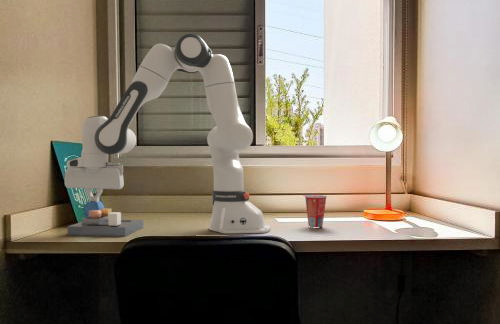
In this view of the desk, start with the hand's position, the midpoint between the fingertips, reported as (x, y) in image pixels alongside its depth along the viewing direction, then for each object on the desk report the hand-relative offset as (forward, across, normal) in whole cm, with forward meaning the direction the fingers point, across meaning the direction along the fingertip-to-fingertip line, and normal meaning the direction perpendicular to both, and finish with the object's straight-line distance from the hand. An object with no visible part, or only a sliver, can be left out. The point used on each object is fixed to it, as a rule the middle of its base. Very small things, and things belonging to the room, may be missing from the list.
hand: (94, 201), depth 129 cm
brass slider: (+7, -2, -6) cm, 9 cm away
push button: (+6, 0, 0) cm, 6 cm away
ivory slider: (+7, -9, +4) cm, 12 cm away
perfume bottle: (+11, +8, -16) cm, 21 cm away
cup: (+10, -78, -17) cm, 81 cm away
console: (+11, -4, -1) cm, 12 cm away
